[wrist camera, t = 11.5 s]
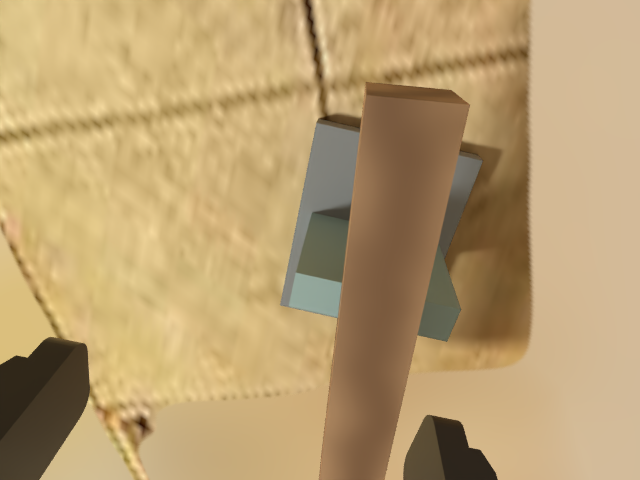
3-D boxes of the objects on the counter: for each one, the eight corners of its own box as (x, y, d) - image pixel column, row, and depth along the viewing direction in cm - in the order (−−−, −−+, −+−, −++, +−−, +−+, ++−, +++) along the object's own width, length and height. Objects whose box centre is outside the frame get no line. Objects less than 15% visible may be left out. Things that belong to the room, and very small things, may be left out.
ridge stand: (283, 295, 39) (257, 381, 30) (318, 118, 32) (299, 159, 23) (413, 324, 39) (428, 419, 30) (478, 155, 32) (524, 210, 23)
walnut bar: (321, 450, 32) (316, 503, 29) (365, 82, 21) (366, 95, 17) (375, 457, 32) (377, 511, 29) (451, 90, 20) (470, 104, 17)
